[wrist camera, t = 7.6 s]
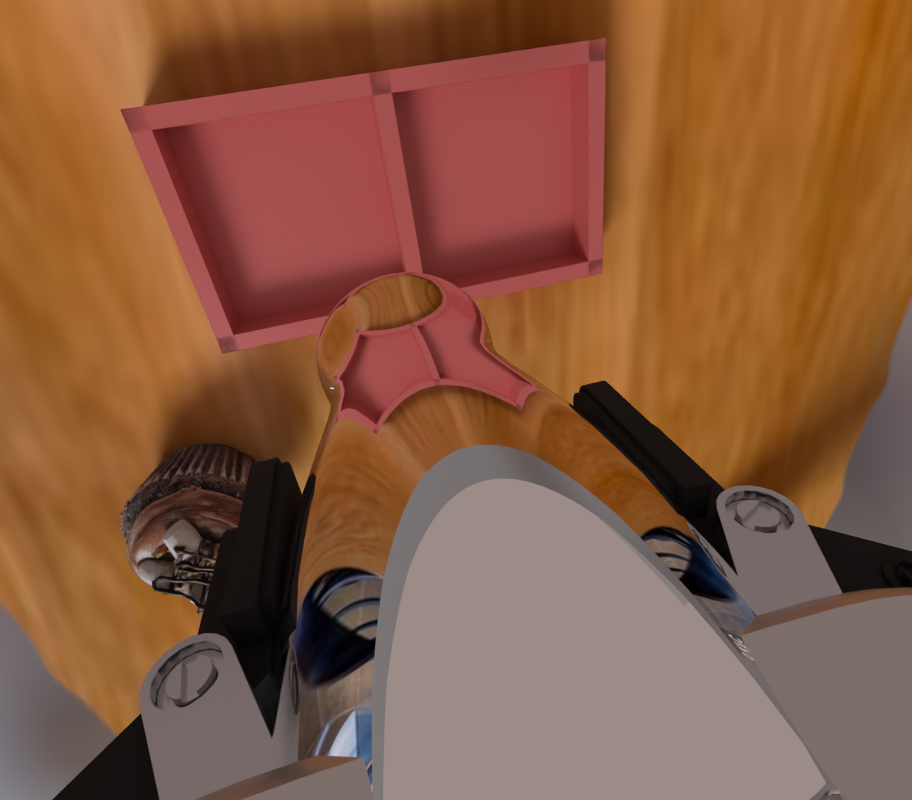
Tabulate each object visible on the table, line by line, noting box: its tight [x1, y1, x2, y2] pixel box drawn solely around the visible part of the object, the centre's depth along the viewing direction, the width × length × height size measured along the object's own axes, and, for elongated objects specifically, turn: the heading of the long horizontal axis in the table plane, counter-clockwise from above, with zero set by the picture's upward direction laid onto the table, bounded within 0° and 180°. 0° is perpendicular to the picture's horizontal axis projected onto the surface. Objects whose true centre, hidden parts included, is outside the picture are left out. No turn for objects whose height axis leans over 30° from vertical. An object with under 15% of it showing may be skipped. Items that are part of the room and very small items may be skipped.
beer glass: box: [271, 272, 848, 800], centre depth 11 cm, size 7×7×15 cm
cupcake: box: [119, 444, 256, 614], centre depth 34 cm, size 10×10×10 cm
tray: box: [121, 38, 606, 353], centre depth 30 cm, size 25×13×3 cm, turn 98°
